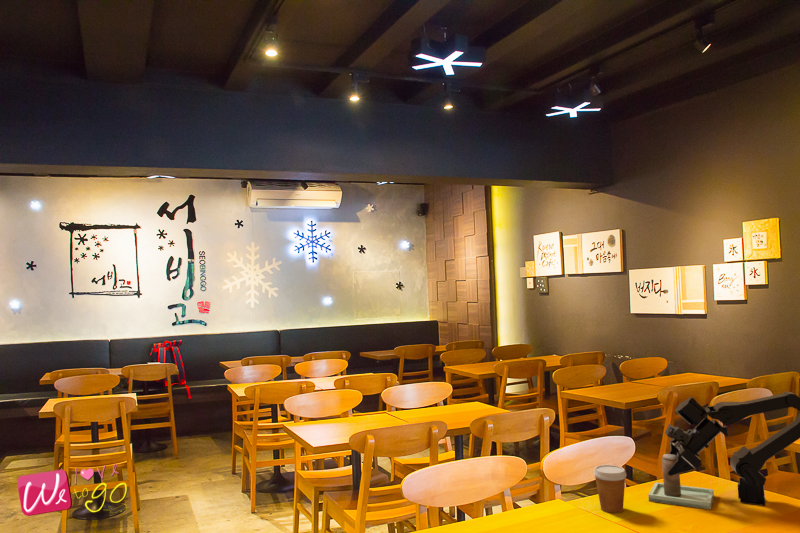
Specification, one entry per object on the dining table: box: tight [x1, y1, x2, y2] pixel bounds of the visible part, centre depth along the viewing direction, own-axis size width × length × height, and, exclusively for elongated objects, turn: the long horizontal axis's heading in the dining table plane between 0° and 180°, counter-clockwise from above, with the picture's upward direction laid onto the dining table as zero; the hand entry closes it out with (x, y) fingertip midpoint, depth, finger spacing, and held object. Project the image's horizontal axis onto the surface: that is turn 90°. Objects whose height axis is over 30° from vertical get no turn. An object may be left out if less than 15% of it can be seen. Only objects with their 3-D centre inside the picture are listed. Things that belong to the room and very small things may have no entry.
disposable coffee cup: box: [592, 464, 627, 514], centre depth 178 cm, size 10×10×12 cm
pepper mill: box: [661, 453, 681, 497], centre depth 186 cm, size 5×5×12 cm
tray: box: [647, 482, 715, 511], centre depth 184 cm, size 17×13×2 cm
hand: (666, 470), depth 186 cm, fingers open, 9 cm apart
